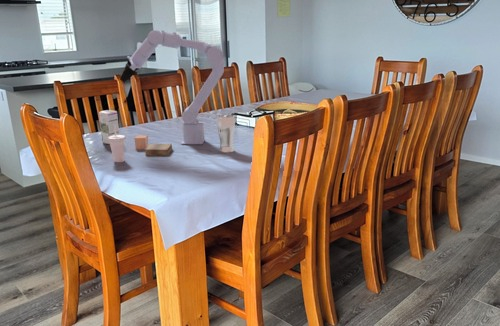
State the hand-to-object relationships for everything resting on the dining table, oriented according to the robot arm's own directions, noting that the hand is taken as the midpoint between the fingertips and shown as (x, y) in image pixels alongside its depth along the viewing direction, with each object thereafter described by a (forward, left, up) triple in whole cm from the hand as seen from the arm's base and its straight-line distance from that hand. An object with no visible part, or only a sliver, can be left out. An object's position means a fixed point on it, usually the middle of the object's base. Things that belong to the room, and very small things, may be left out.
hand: (122, 78), depth 184 cm
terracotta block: (-8, +7, -29) cm, 31 cm away
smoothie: (-4, +26, -29) cm, 39 cm away
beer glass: (-45, +12, -29) cm, 55 cm away
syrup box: (+8, -1, -29) cm, 30 cm away
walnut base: (-17, +14, -29) cm, 36 cm away
